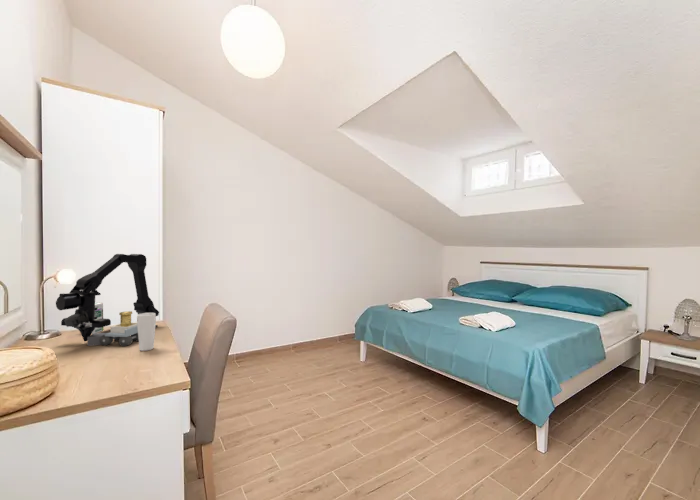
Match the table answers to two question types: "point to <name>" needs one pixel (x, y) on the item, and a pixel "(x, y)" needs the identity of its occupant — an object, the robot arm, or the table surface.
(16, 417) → the table surface
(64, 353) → the table surface
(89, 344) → the block
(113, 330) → the tray
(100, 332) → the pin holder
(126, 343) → the trolley
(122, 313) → the stop pin
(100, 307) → the syrup box
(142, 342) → the drinking glass
